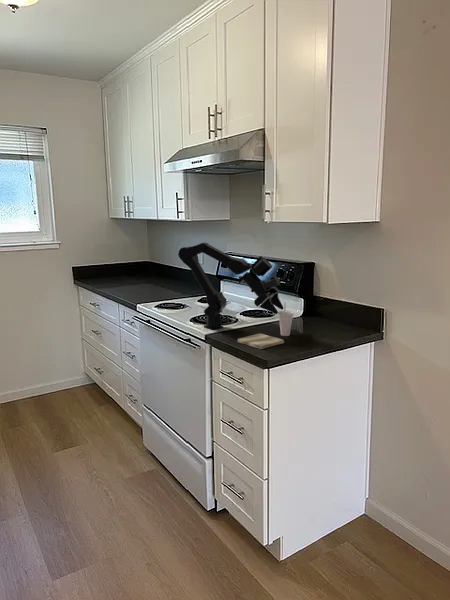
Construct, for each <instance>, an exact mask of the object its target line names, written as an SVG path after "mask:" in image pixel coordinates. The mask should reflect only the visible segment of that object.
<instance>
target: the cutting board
mask: <svg viewBox="0 0 450 600" xmlns="http://www.w3.org/2000/svg"><path fill="white" fill-rule="evenodd" d="M236 342H237V343H240V344H242V345H247V346H249V347H253V348H256V349H259V350H263V349H267V348H271V347H274V346H277V345H281V344H284V343H285V340H284V339H282V338H279V337H275V336H272V335H267V334H264V333H261V332H260V333H259V332H258V333H256V334H253V335H252V334H251V335H248V336H244V337H239V338H237V341H236Z"/></svg>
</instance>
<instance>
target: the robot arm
mask: <svg viewBox="0 0 450 600" xmlns="http://www.w3.org/2000/svg"><path fill="white" fill-rule="evenodd" d="M202 253H203V254H205V255H207V256H209V257H211V258H213V259H214V260H216V261H217V262H220V263H222V264H224V265H225V266H226V267H227V268H228V269H229V270H230V271H231V272H232V273H234V274H235V275H240V276H238V284H241V283H243V282H244V283H245V284H246V285H247V287H248V288H250V292H251V293H254V294H255V296H257V297H256V298H255V299H254V303H253V304H254V305H255V306H256V307H259V308H260V309H263V310H265V311H268V312H270V313H273V314H274V315H277V314H278V312H279V311H278V310H277V308H278V309H280V310H281V311H283V310H284V305H283V303H282V302H281V300H280V297H279V294H280V290H279V288H278V286H280V285H281V282H280V279H279V277H276V276H275V275H274V276H272V277H270V280H268V281H265V280H262V279H261V278H260V277H264V276H266V274H267V273H268V272H269V271H271V269H272V268H273V264H272V263H271V262H270V261H269V260H267V259H266V258H265V257H263V256H262V255H260V256H259V257H257V259H256V260H255V262H253V263H251V262H248V261H247V260H245V259H242V258H239V257H236V256H231V255H229V254H228V253H225V252H223V251H222V250H220V249H218V248H216V247H214V246H212V245H210V244H209V243H208V242H201V243H199V244H196V245H193V246H191V245H190V246H185V247H184V246H183V247H181V248H180V249H179V251H178V254H177V255H178V258H179V259H180V261H182V263H183V264H185V265H186V266H187V267H188V268H189V269H190V270H191V272H192V273H193V276H194V278H195V279H196V281H197V282H198V284H199V286H200V287H201V289H202V291H203V293H204V294H205V297H206V303H207V305H208V306H207V307H206V308H205V309H204V310H203V312H204V316H205V317H206V325H203V328H206V329H210V330H213V331H214V330H217V329H223V328H224V325H222V318H221V317H222V315H221V313H222V312H223V310H224V309H225V308H226V306H227V298H226V297H225V295H224V294H223V292H222V291H219V292H218V291H217V290H216V289H215V288H214V286H213V284H212V282H211V281H210V279H209V278H208V276H207V274H206V272H205V270H204V269H203V267H202V265H201V264H200V261H199V260H200V259H199V256H198V255H201V254H202ZM248 271H249V272H248ZM242 274H243V275H242Z"/></svg>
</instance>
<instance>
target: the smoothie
mask: <svg viewBox="0 0 450 600" xmlns="http://www.w3.org/2000/svg"><path fill="white" fill-rule="evenodd" d="M283 307H284V309H283V310H281V311H278V313H277V314H278V319H279V328H280V336H283V337H289V336H290V335H291V328H292V324H293V323H292V322H293V316H294V312H293V311H290V310H286V309H287V303H286V301H284V305H283Z"/></svg>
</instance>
